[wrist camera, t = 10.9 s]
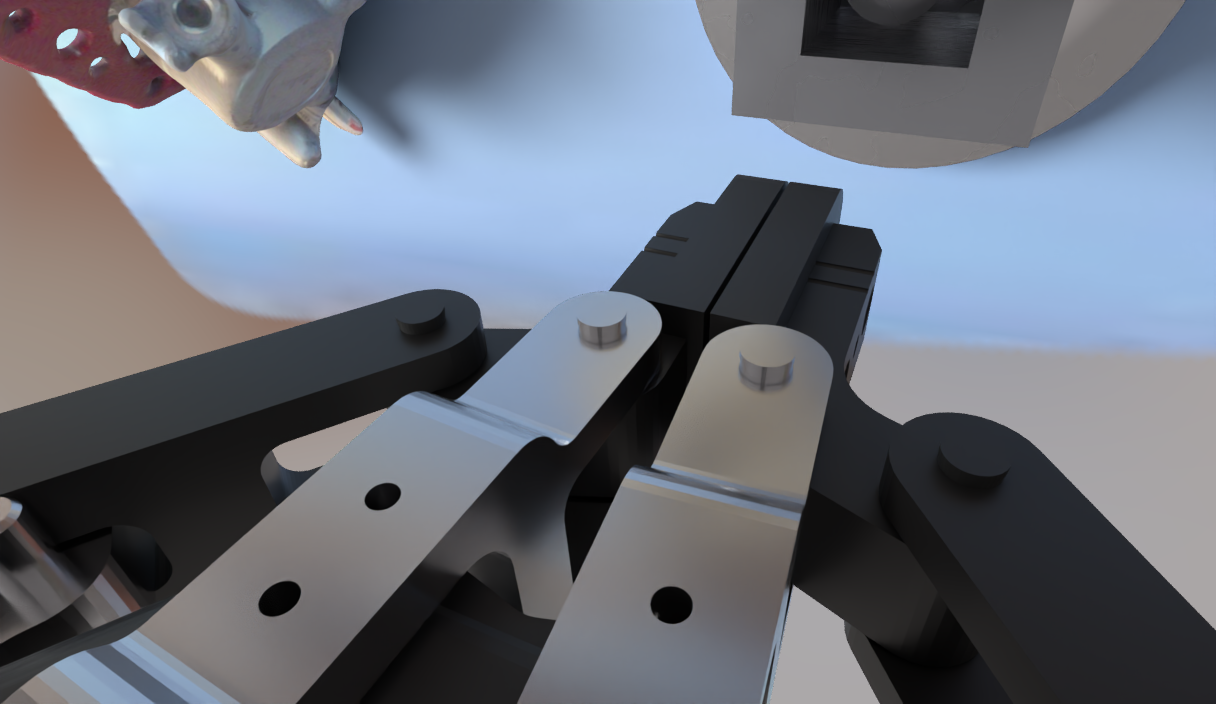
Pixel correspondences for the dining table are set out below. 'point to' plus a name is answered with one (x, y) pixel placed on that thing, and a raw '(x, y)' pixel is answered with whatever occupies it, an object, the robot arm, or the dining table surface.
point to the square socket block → (899, 68)
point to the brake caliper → (198, 58)
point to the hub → (1090, 48)
